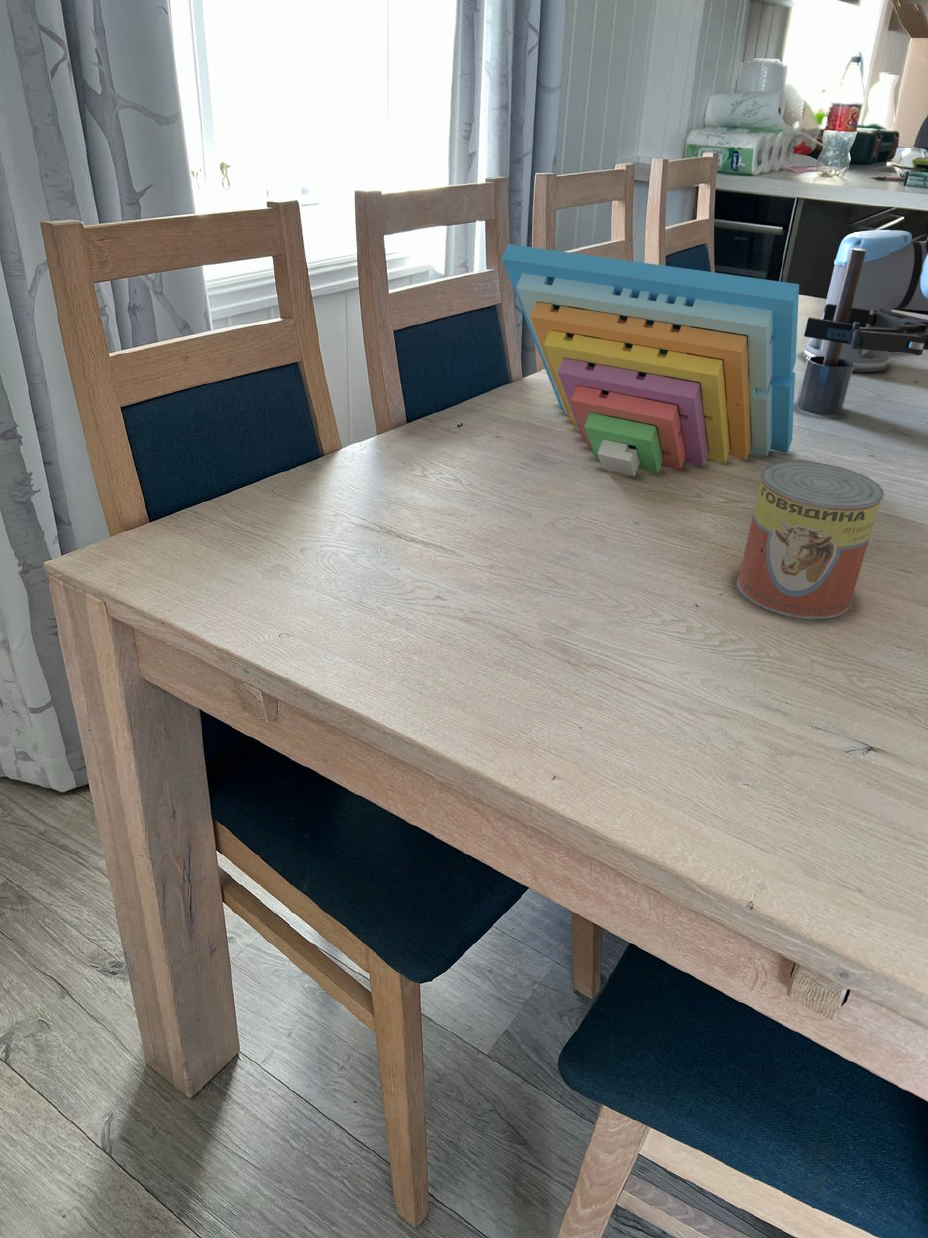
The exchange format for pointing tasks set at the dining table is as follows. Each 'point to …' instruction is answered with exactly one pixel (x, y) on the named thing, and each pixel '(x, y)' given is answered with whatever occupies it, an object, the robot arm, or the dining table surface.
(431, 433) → the dining table surface
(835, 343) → the stick
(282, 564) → the dining table surface
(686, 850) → the dining table surface
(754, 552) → the canned food
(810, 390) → the holder
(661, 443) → the rainbow stepped pyramid
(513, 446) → the dining table surface
